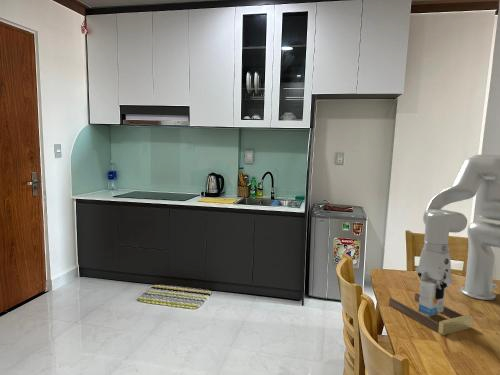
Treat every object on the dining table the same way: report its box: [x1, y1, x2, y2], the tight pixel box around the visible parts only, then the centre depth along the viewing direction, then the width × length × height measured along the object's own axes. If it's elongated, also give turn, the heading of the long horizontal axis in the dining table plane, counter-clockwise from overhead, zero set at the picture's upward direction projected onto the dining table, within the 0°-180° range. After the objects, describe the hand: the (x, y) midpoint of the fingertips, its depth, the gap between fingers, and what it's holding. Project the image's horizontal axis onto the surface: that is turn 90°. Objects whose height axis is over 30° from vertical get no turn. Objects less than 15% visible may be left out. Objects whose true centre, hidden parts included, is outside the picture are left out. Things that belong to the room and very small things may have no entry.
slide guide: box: [388, 292, 474, 336], centre depth 127 cm, size 14×24×4 cm, turn 22°
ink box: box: [418, 272, 446, 317], centre depth 126 cm, size 8×5×15 cm, turn 123°
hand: (431, 294), depth 126 cm, fingers closed on ink box, 5 cm apart
